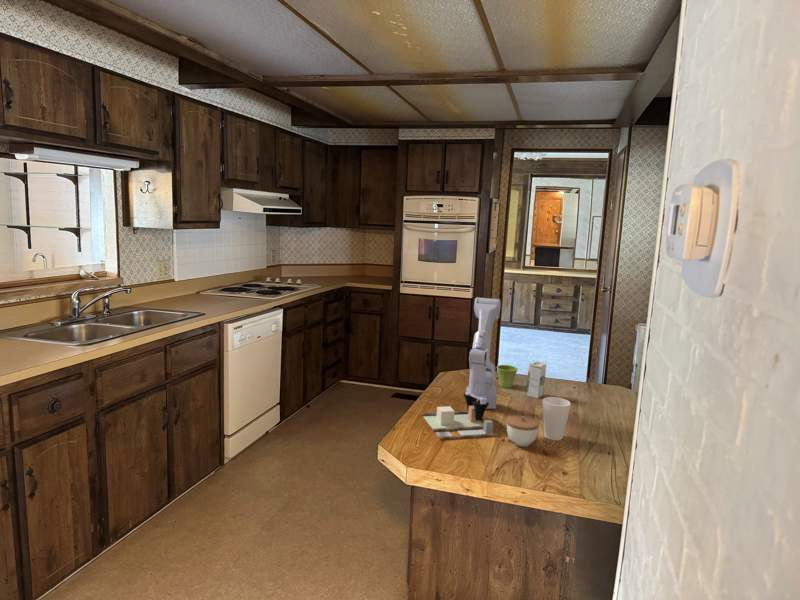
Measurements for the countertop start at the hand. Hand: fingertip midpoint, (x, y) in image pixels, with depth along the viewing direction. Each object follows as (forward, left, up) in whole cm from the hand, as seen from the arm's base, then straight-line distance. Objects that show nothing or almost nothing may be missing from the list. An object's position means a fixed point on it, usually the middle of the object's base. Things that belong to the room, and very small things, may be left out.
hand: (474, 416), depth 204 cm
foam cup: (-24, +16, -3) cm, 29 cm away
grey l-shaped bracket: (+4, +11, -2) cm, 12 cm away
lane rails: (+8, +3, -3) cm, 9 cm away
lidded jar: (-10, +19, -3) cm, 21 cm away
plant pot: (-32, -40, -3) cm, 51 cm away
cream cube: (+11, 0, -2) cm, 12 cm away
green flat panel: (+8, 0, -3) cm, 8 cm away
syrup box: (-39, -26, -3) cm, 47 cm away
